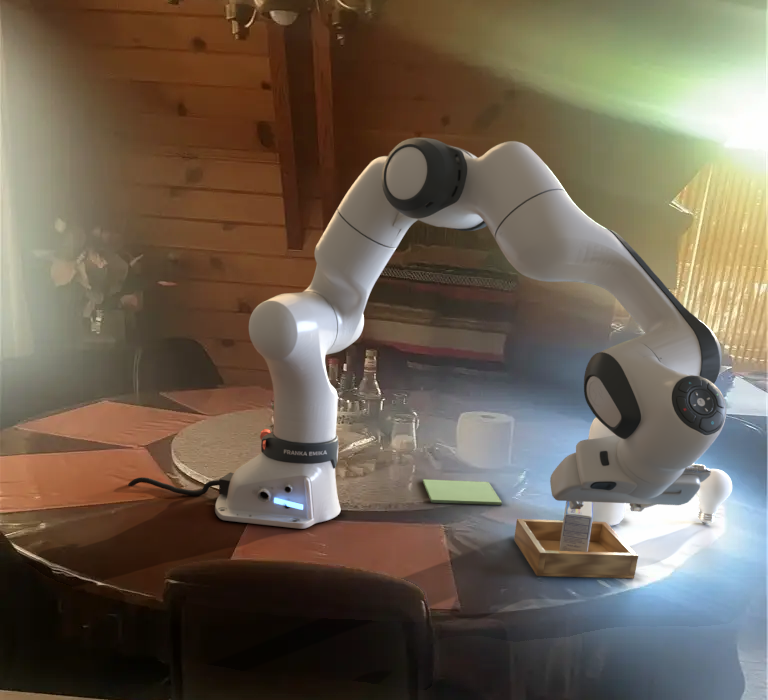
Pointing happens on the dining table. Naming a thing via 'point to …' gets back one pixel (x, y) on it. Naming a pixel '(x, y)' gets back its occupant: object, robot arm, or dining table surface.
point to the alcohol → (605, 510)
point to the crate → (601, 560)
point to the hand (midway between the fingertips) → (604, 505)
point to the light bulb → (713, 494)
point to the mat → (461, 492)
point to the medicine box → (576, 528)
